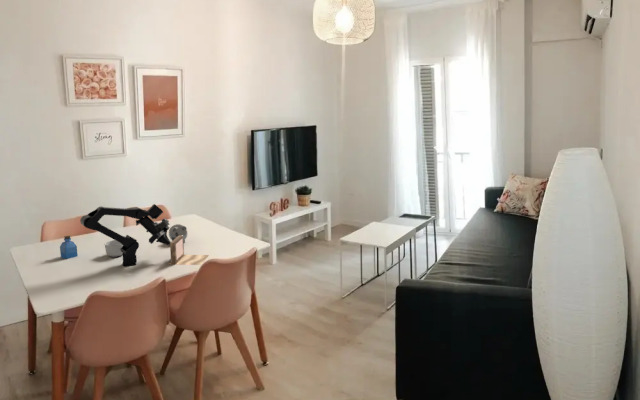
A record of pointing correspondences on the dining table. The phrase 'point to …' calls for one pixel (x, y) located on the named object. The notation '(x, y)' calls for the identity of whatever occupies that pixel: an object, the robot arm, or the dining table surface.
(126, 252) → the robot arm
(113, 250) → the teacup
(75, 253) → the perfume bottle
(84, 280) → the dining table surface
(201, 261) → the light tan wooden board
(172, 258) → the brown wooden slab
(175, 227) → the piggy bank
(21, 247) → the dining table surface
